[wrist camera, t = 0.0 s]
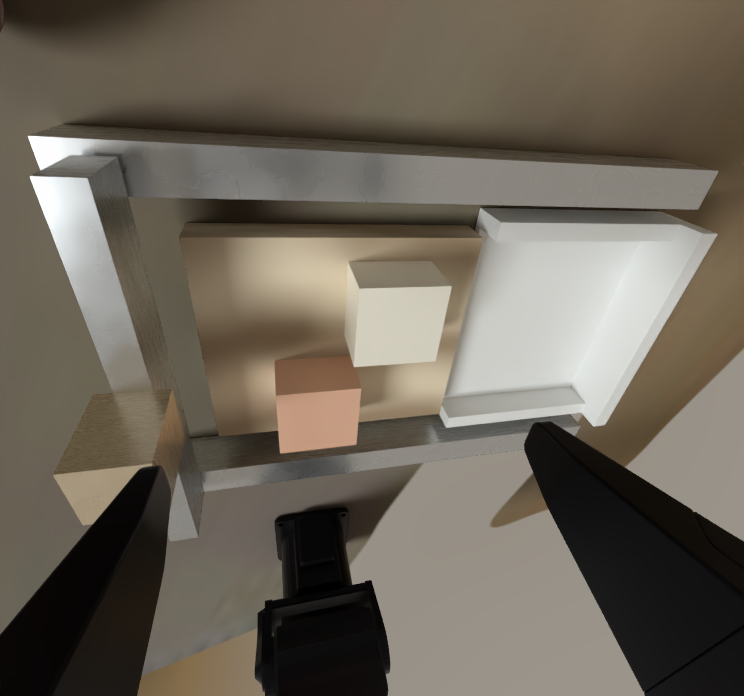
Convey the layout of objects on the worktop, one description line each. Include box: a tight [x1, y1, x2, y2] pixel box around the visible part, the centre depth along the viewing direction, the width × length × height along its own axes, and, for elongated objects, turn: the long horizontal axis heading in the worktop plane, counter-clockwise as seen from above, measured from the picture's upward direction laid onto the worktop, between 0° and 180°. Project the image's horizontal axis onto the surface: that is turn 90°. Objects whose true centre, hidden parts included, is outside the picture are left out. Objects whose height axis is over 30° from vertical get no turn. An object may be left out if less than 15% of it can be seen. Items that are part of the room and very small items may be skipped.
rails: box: [28, 124, 719, 492], centre depth 25 cm, size 21×31×3 cm
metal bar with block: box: [30, 155, 204, 541], centre depth 17 cm, size 20×3×7 cm, turn 175°
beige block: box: [344, 261, 452, 367], centre depth 21 cm, size 4×4×3 cm
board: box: [179, 223, 483, 437], centre depth 24 cm, size 13×15×2 cm
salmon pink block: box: [274, 356, 361, 454], centre depth 24 cm, size 4×4×3 cm
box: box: [439, 208, 718, 428], centre depth 27 cm, size 15×12×4 cm
